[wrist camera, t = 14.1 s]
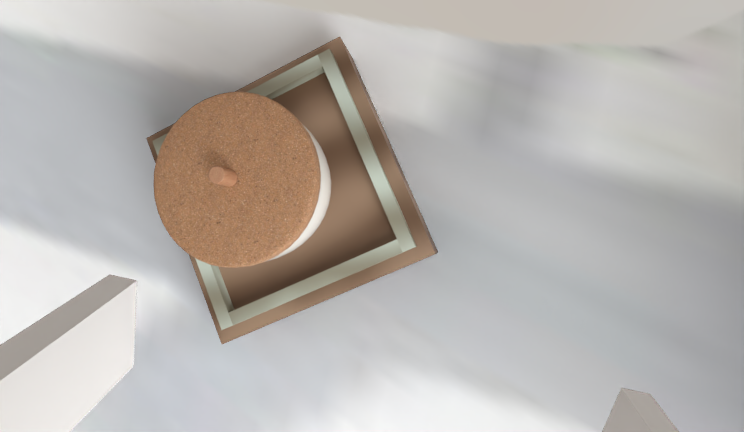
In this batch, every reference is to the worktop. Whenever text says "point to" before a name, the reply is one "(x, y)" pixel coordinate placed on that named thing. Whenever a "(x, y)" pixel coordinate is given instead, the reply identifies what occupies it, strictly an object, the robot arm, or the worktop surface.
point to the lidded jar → (240, 181)
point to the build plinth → (346, 206)
